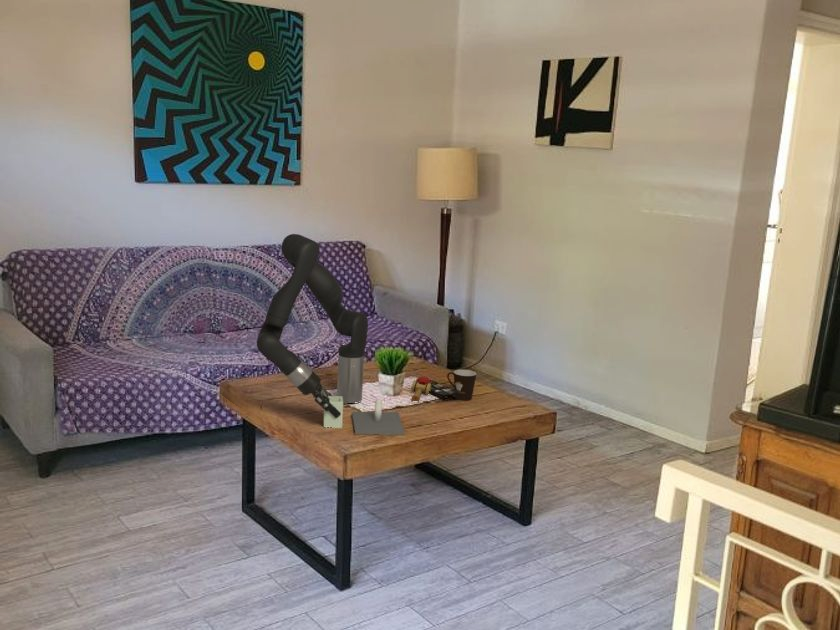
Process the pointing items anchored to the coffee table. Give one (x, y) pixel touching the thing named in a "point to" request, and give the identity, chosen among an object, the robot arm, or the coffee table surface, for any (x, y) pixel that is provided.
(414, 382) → the kendama
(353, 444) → the coffee table surface
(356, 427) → the hub stand
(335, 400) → the collar
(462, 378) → the coffee mug
